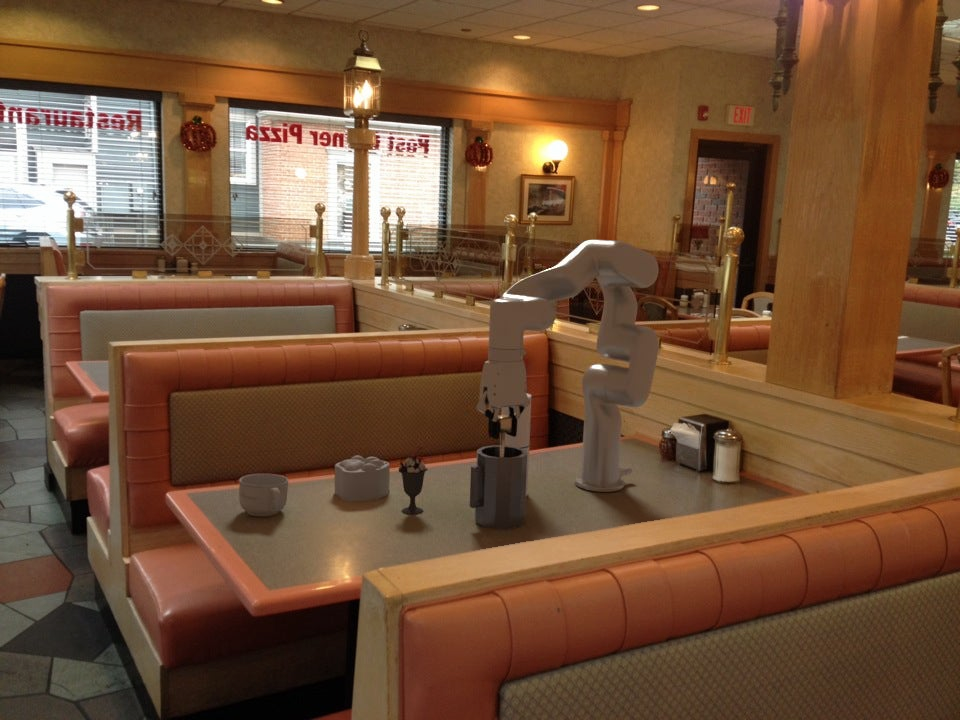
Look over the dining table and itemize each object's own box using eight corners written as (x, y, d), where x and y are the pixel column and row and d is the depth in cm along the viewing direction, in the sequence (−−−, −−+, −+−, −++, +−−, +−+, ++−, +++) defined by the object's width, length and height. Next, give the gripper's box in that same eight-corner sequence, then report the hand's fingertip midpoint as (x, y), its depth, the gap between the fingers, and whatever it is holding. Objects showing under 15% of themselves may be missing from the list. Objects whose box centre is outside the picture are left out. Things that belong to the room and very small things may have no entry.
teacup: (236, 507, 200) (235, 473, 199) (283, 502, 204) (283, 469, 203) (245, 527, 188) (244, 492, 186) (295, 522, 192) (295, 487, 191)
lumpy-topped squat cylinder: (330, 491, 214) (330, 456, 213) (379, 484, 221) (379, 451, 219) (346, 503, 205) (347, 468, 204) (397, 496, 212) (397, 461, 210)
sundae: (431, 508, 203) (432, 446, 201) (420, 517, 197) (421, 453, 195) (405, 504, 205) (406, 443, 203) (393, 513, 199) (394, 450, 197)
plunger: (503, 501, 202) (507, 412, 198) (523, 511, 195) (527, 419, 192) (476, 507, 197) (479, 415, 194) (495, 517, 191) (499, 422, 188)
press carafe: (505, 509, 204) (507, 443, 202) (533, 523, 195) (536, 454, 193) (457, 518, 197) (459, 450, 194) (484, 534, 188) (487, 462, 185)
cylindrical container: (525, 499, 212) (529, 399, 208) (496, 496, 213) (499, 396, 209) (529, 490, 219) (533, 393, 215) (501, 488, 220) (504, 391, 216)
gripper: (525, 350, 198) (522, 428, 201) (464, 355, 189) (461, 437, 192) (546, 355, 192) (542, 436, 195) (483, 360, 183) (480, 445, 186)
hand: (502, 435), depth 194 cm, fingers closed on plunger, 4 cm apart
